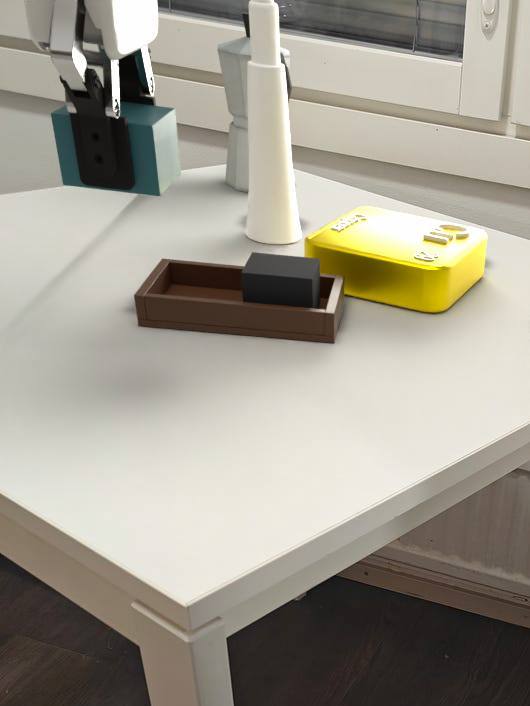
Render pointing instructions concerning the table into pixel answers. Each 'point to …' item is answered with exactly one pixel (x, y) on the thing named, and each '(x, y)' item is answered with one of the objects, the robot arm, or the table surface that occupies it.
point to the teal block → (146, 147)
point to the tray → (231, 304)
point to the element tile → (400, 257)
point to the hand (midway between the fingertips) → (123, 171)
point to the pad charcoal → (281, 280)
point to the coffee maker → (241, 103)
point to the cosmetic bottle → (269, 134)
